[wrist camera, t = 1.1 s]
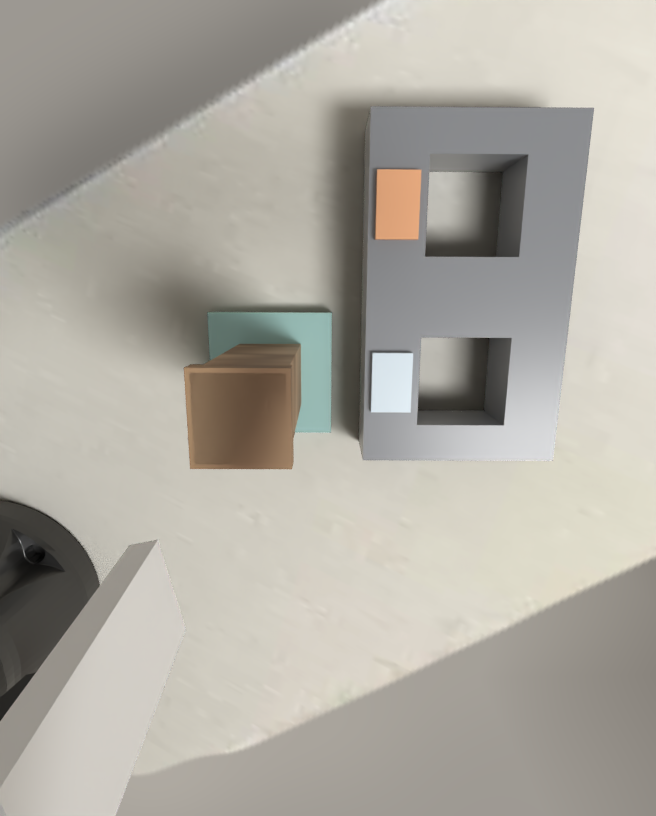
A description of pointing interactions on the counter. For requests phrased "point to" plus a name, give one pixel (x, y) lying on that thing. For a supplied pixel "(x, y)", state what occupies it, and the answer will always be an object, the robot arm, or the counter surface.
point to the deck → (286, 329)
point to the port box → (469, 278)
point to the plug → (244, 407)
